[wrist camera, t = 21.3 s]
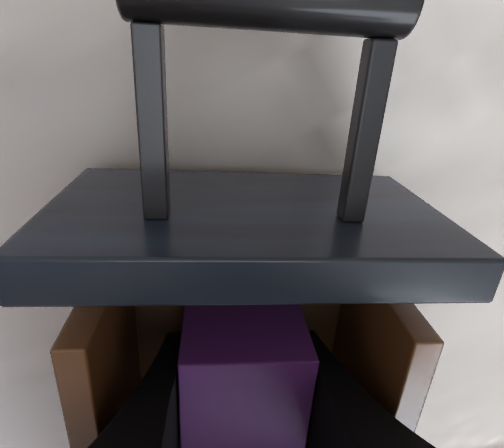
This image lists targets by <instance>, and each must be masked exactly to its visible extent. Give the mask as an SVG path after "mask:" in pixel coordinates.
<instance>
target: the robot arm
mask: <svg viewBox="0 0 504 448" xmlns="http://www.w3.org/2000/svg"><path fill="white" fill-rule="evenodd" d="M309 333H310V336H311V338H312V341H313V344H314V347H315V350H316V353H317V356H318V359H319V367H318V373H317V379H316V385H315V391H314V397H313V403H312V409H311V415H310V421H309V428H308V434H307V440H308V443H309V447H310V448H436V447H434V446H433V445H431V444H430V443H428V442H427V441H425V440H424V439H422V438H421V437H420V436H418V435H417V434H415V433H414V432H413V431H412V430H410V429H409V428H408V427H406V426H405V425H404V424H402V423H401V422H400V421H399V420H397V419H396V418H395V417H394V416H393V415H391V414H390V413H389V412H388V411H387V410H386V409H384V408H383V407H382V406H381V405H380V404H379V403H378V402H377V401H375V400H374V399H373V398H372V397H371V396H370V395H369V394H368V393H367V392H366V391H365V390H364V389H363V388H362V387H361V386H360V385H359V383H358V382H357V381H356V380H355V379H354V378H353V377H352V376H351V375H350V374H349V373H348V371H347V370H346V369H345V368H344V367H343V366H342V365H341V363H340V362H339V361H338V360H337V359H336V357H335V356H334V355H333V354H332V352H331V351H330V350H329V349H328V347H327V346H326V345H325V344H324V342H323V341H322V340H321V338H320V337H319V336H318V335H317V333H316V332H315V331H314V330H309ZM180 340H181V332H169V333H168V334H167V335H166V336H165V339H164V341H163V343H162V345H161V348H160V350H159V351H158V353H157V355H156V357H155V359H154V361H153V362H152V364H151V366H150V367H149V369H148V371H147V372H146V374H145V376H144V377H143V379H142V380H141V382H140V383H139V385H138V386H137V388H136V389H135V391H134V392H133V394H132V395H131V396H130V398H129V399H128V401H127V402H126V403H125V405H124V406H123V407H122V408H121V410H120V411H119V412H118V413H117V415H116V416H115V417H114V418H113V420H112V421H111V422H110V423H109V424H108V425H107V427H106V428H105V429H104V430H103V431H102V432H101V433H100V434H99V436H98V437H97V438H96V439H95V440H94V441H93V442H92V443H91V444H90V445H89V446H88V447H87V448H178V446H179V440H180V425H179V395H178V357H179V349H180Z"/></svg>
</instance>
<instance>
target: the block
mask: <svg viewBox="0 0 504 448" xmlns="http://www.w3.org/2000/svg"><path fill="white" fill-rule="evenodd" d="M318 367H319V359H318V356H317V353H316V350H315V347H314V344H313V341H312V338H311V336H310V333H309V330H308V327H307V324H306V321H305V318H304V315H303V312H302V309H301V306H300V304H294V305H185V307H184V315H183V324H182V332H181V340H180V349H179V357H178V395H179V425H180V448H305V446H306V440H307V434H308V428H309V421H310V415H311V409H312V403H313V397H314V391H315V385H316V379H317V373H318Z"/></svg>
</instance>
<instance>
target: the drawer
mask: <svg viewBox="0 0 504 448" xmlns="http://www.w3.org/2000/svg"><path fill="white" fill-rule="evenodd" d="M116 4H117V8H118V11H119V13H120V16H121V18H122V19H123V20H124V21H126V22H131V24H130V26H131V41H132V56H133V71H134V86H135V100H136V115H137V130H138V145H139V160H140V170H136V169H100V168H87V169H85V170H84V171H83V172H82V173H81V174H80V175H79V176H78V177H77V178H75V179H74V180H73V181H72V182H71V183H70V184H69V185H68V186H67V187H65V188H64V189H63V190H62V191H61V192H60V193H59V194H58V195H57V196H56V197H54V198H53V199H52V200H51V201H50V202H49V203H48V204H47V205H46V206H45V207H43V208H42V209H41V210H40V211H39V212H38V213H37V214H36V215H35V216H34V217H32V218H31V219H30V220H29V221H28V222H27V223H26V224H25V225H24V226H23V227H21V228H20V229H19V230H18V231H17V232H16V233H15V234H14V235H13V236H11V237H10V238H9V239H8V240H7V241H6V242H5V243H4V244H3V245H2V246H0V306H2V307H74V308H73V310H72V312H71V313H70V315H69V317H68V319H67V321H66V323H65V324H64V326H63V328H62V330H61V332H60V333H59V335H58V337H57V339H56V341H55V342H54V344H53V346H52V348H51V350H50V354H51V358H52V363H53V368H54V373H55V378H56V382H57V387H58V392H59V397H60V402H61V406H62V411H63V416H64V421H65V425H66V430H67V435H68V440H69V445H70V448H87V447H88V446H89V445H90V444H91V443H92V442H93V441H94V440H95V439H96V438H97V437H98V436H99V434H100V433H101V432H102V431H103V430H104V429H105V428H106V427H107V425H108V424H109V423H110V422H111V421H112V420H113V418H114V417H115V416H116V415H117V413H118V412H119V411H120V410H121V408H122V407H123V406H124V405H125V403H126V402H127V401H128V399H129V398H130V396H131V395H132V394H133V392H134V391H135V389H136V388H137V386H138V385H139V383H140V382H141V380H142V379H143V377H144V376H145V374H146V372H147V371H148V369H149V367H150V366H151V364H152V362H153V361H154V359H155V357H156V355H157V353H158V351H159V350H160V348H161V345H162V343H163V341H164V339H165V336H166V335H167V334H168V333H169V332H182V324H183V315H184V307H185V305H294V304H300V306H301V309H302V312H303V315H304V318H305V321H306V324H307V327H308V330H314V331H315V332H316V333H317V335H318V336H319V337H320V338H321V340H322V341H323V342H324V344H325V345H326V346H327V347H328V349H329V350H330V351H331V352H332V354H333V355H334V356H335V357H336V359H337V360H338V361H339V362H340V363H341V365H342V366H343V367H344V368H345V369H346V370H347V371H348V373H349V374H350V375H351V376H352V377H353V378H354V379H355V380H356V381H357V382H358V383H359V385H360V386H361V387H362V388H363V389H364V390H365V391H366V392H367V393H368V394H369V395H370V396H371V397H372V398H373V399H374V400H375V401H377V402H378V403H379V404H380V405H381V406H382V407H383V408H384V409H386V410H387V411H388V412H389V413H390V414H391V415H393V416H394V417H395V418H396V419H397V420H399V421H400V422H401V423H402V424H404V425H405V426H406V427H408V428H409V429H410V430H412V431H413V432H415V429H416V426H417V423H418V420H419V417H420V414H421V411H422V408H423V405H424V402H425V399H426V396H427V393H428V390H429V387H430V384H431V381H432V378H433V375H434V372H435V369H436V366H437V363H438V360H439V357H440V354H441V351H442V348H443V345H444V342H443V340H442V339H441V338H440V336H439V335H438V334H437V333H436V331H435V330H434V329H433V328H432V326H431V325H430V324H429V323H428V321H427V320H426V319H425V318H424V316H423V315H422V314H421V312H420V311H419V310H418V309H417V307H416V306H415V305H414V304H413V303H490V302H491V301H492V300H493V298H494V295H495V293H496V290H497V287H498V285H499V282H500V279H501V277H502V274H503V271H504V257H503V256H501V255H500V254H498V253H497V252H495V251H494V250H493V249H491V248H490V247H488V246H487V245H486V244H484V243H483V242H481V241H480V240H479V239H477V238H476V237H474V236H473V235H472V234H470V233H469V232H467V231H466V230H464V229H463V228H462V227H460V226H459V225H457V224H456V223H455V222H453V221H452V220H450V219H449V218H448V217H446V216H445V215H443V214H442V213H440V212H439V211H438V210H436V209H435V208H433V207H432V206H431V205H429V204H428V203H426V202H425V201H424V200H422V199H421V198H419V197H418V196H416V195H415V194H414V193H412V192H411V191H409V190H408V189H407V188H405V187H404V186H402V185H401V184H400V183H398V182H397V181H395V180H394V179H392V178H391V177H389V176H373V170H374V165H375V160H376V155H377V149H378V144H379V139H380V134H381V128H382V123H383V118H384V113H385V108H386V102H387V97H388V92H389V87H390V81H391V76H392V71H393V66H394V60H395V55H396V50H397V45H398V41H397V40H401V39H404V38H405V37H407V36H408V35H409V34H410V33H411V31H412V30H413V28H414V27H415V25H416V23H417V21H418V19H419V16H420V14H421V11H422V7H423V4H424V0H116ZM161 24H167V25H182V26H197V27H212V28H227V29H242V30H257V31H272V32H287V33H302V34H317V35H332V36H347V37H361V38H367V39H365V40H364V42H363V47H362V54H361V60H360V66H359V73H358V79H357V85H356V92H355V98H354V104H353V111H352V117H351V124H350V130H349V136H348V143H347V149H346V155H345V162H344V168H343V174H342V175H318V174H282V173H245V172H209V171H172V170H169V154H168V126H167V97H166V69H165V40H164V26H163V25H161ZM178 448H180V440H179V446H178ZM305 448H310V447H309V443H308V440H306V446H305Z"/></svg>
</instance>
